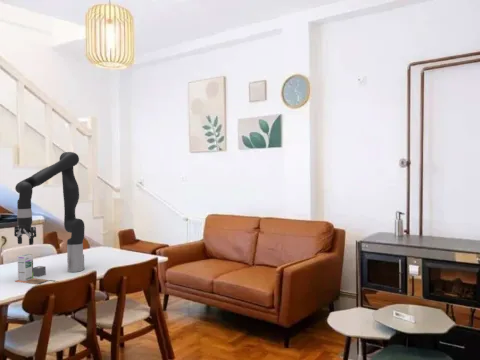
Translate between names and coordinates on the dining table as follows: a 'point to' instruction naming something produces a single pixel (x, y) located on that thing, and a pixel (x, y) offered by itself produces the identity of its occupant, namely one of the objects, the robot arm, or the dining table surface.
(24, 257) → the syrup box
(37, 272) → the die
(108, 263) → the dining table surface
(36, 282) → the flat rectangular plate
